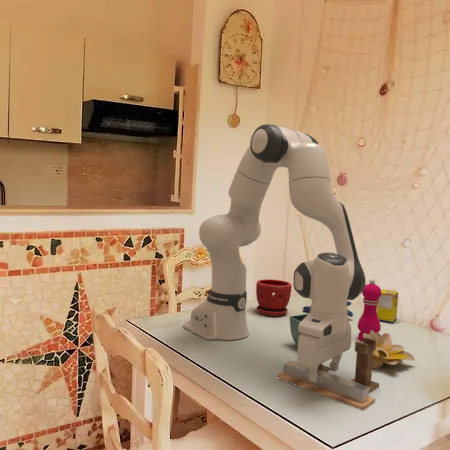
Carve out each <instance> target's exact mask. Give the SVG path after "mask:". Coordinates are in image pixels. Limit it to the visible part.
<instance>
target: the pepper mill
mask: <svg viewBox="0 0 450 450" xmlns="http://www.w3.org/2000/svg"><path fill="white" fill-rule="evenodd" d="M381 290H382V289H381V287H380V286H379V285H377V284H376V280H375V279H370V280H369V283H368V284H367V283H366V284H365V288H364V290H363V291H362V293H361V294H362V296H363V298H362V303H363V305H364V306H363V312H362V314H361V316H360V318H359V319H358V322H357V329H358V330H359V332H358V334H357V335H358V336H357V339H358V340H359V341H360V342H362V343H363V342H364V338H363V334H364V333H366V334H367V335H368V334H369V333H371V332H370V330H373V331H374V332H375V333H380V331H381V329H382V328H381V321H379V319H378V316H377V305H378V304H379V300H378V298H379V297H380V296H381Z"/></svg>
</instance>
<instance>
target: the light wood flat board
mask: <svg viewBox="0 0 450 450" xmlns="http://www.w3.org/2000/svg"><path fill="white" fill-rule="evenodd" d="M283 373H284V371H282V372H280V373H278V374H276V378H277V377H278V378H280V379H279V380H281V379H283V380H286V381H288V382H287V383H289V382H291V383H293V384H292V385H294V384H296V385H295V386H297V385H299V386H302V387H304V388H303V389H305V388H306V389H305V390H307V389H309V390H308V391H310V390H311V392H313V391H314V392H313V393H316V392H317V393H316V394H318V393H319V395H321V394H322V395H321V396H325V397H326V396H327V397H326V398H329V399H332V398H333V400H334V399H335V400H334V401H337V400H338V401H337V402H340V401H341V402H340V403H342V402H344V403H343V404H345V403H346V404H345V405H348V404H349V405H348V406H350V405H351V407H353V406H354V407H353V408H355V409H358V408H360V409H359V410H361V409H362V411H364V410H366V409H368V408H369V407H370V406H372V404H373V403H374V404H375V401H376V398H374V397H372V396H369V398H368V400H367V401H365V402H364V403H360V402H358V401H355V400H352V399H349V398H347V397H344V396H341V395H338V394H336V393H333V392H330V391H327V390H325V389H322V388H319V387H316V386H314V385H311V384H308V383H305V382H303V381H300V380H297V379H294V378H292V377H289V376H286V375H283ZM278 378H277V379H278ZM283 380H282V381H283ZM286 381H285V382H286ZM291 383H290V384H291ZM299 386H298V387H299ZM302 387H301V388H302Z"/></svg>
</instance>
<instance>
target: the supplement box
mask: <svg viewBox="0 0 450 450" xmlns="http://www.w3.org/2000/svg"><path fill="white" fill-rule="evenodd" d="M378 300H379V304H378V305H377V316H378V319H379V321H380V322H383V323H389V324H394V323H395V322H394V321H396V320H397V317H398V315H397V314H398V306H399V305H398V304H399V291H397V290H396V291H395V290H389V289H381V296H380V297H379V298H378Z"/></svg>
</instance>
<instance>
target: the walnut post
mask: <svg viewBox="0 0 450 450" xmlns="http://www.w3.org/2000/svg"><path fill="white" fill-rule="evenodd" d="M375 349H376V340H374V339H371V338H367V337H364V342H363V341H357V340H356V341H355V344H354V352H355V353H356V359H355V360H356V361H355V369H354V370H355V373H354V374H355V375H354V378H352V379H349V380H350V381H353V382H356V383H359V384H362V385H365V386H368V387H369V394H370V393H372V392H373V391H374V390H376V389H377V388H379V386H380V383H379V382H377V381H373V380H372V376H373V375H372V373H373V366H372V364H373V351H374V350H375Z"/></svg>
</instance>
